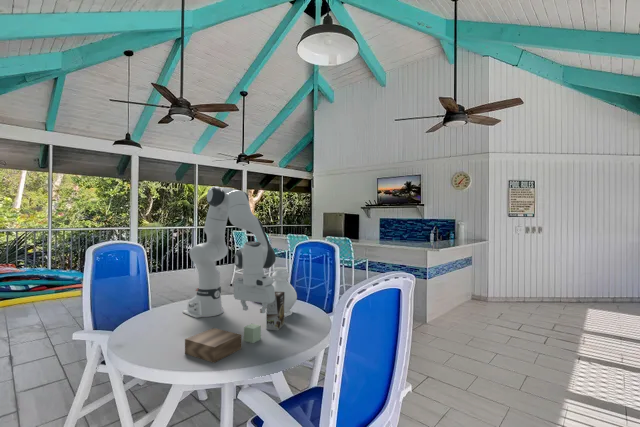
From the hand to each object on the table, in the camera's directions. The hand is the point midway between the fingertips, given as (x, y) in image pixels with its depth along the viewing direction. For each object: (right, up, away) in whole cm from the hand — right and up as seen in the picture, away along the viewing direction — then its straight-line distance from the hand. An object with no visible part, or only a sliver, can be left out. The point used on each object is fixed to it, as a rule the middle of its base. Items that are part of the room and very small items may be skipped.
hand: (253, 311), depth 135 cm
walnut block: (-14, -12, -11) cm, 22 cm away
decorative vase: (+7, -13, +37) cm, 39 cm away
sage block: (-1, -12, 0) cm, 12 cm away
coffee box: (+7, -13, +16) cm, 22 cm away
